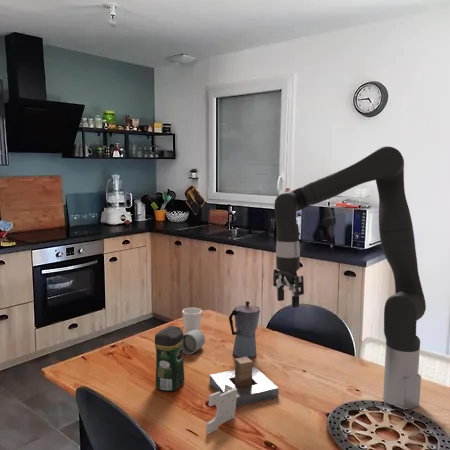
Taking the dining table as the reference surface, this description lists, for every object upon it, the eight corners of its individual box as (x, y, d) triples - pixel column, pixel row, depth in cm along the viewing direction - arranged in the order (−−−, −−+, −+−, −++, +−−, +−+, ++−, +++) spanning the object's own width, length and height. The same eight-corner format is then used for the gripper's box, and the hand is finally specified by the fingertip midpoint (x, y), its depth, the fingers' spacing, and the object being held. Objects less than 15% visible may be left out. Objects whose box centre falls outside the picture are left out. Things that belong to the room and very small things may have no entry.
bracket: (222, 415, 126) (225, 380, 126) (234, 421, 124) (237, 385, 123) (195, 427, 118) (199, 390, 117) (208, 434, 115) (211, 396, 115)
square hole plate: (278, 397, 134) (278, 388, 134) (229, 408, 128) (229, 398, 128) (254, 374, 149) (254, 366, 148) (209, 383, 143) (209, 374, 142)
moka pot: (267, 351, 167) (268, 300, 165) (240, 365, 156) (240, 309, 154) (247, 345, 174) (248, 295, 171) (220, 357, 163) (220, 304, 160)
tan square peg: (252, 392, 137) (252, 361, 136) (240, 395, 136) (240, 363, 134) (246, 386, 141) (246, 356, 140) (234, 389, 139) (234, 358, 138)
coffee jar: (165, 376, 147) (165, 322, 145) (187, 380, 145) (187, 325, 142) (151, 390, 138) (150, 332, 136) (174, 394, 136) (173, 336, 133)
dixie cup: (194, 339, 180) (194, 315, 178) (178, 334, 184) (177, 311, 183) (206, 332, 186) (206, 309, 185) (190, 328, 191) (190, 306, 190)
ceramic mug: (206, 347, 171) (206, 328, 170) (196, 356, 163) (196, 335, 163) (182, 344, 175) (181, 325, 174) (171, 351, 168) (171, 332, 167)
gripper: (310, 257, 138) (310, 307, 140) (285, 250, 151) (285, 297, 152) (290, 259, 135) (290, 311, 136) (266, 252, 147) (266, 299, 149)
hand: (287, 303), depth 144 cm, fingers open, 8 cm apart
